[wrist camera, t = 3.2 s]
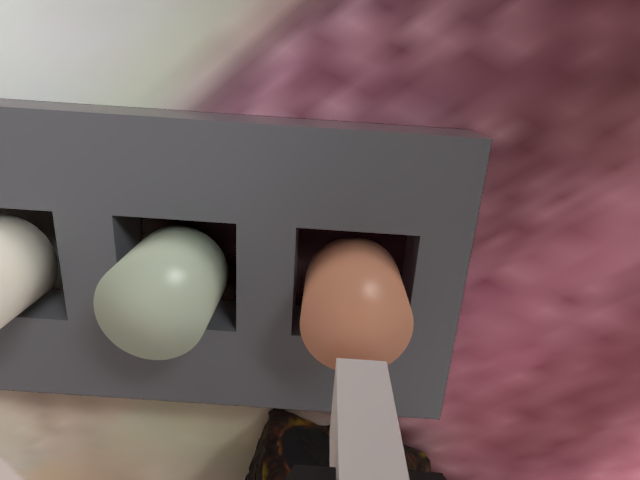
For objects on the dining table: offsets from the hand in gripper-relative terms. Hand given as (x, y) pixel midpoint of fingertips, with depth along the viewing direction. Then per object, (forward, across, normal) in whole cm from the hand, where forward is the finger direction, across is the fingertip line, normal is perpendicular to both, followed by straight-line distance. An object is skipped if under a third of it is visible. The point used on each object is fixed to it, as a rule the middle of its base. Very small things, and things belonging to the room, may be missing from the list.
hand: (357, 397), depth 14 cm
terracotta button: (+8, 0, 0) cm, 8 cm away
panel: (+11, -8, 0) cm, 13 cm away
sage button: (+8, -8, 0) cm, 11 cm away
